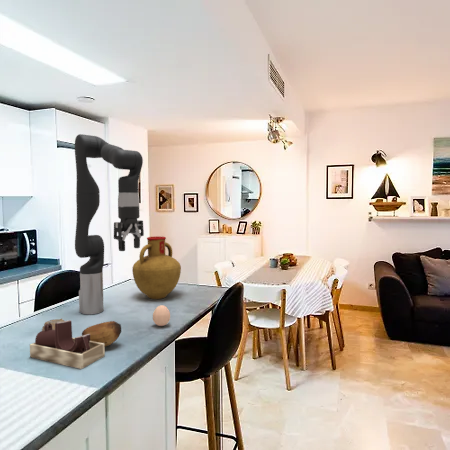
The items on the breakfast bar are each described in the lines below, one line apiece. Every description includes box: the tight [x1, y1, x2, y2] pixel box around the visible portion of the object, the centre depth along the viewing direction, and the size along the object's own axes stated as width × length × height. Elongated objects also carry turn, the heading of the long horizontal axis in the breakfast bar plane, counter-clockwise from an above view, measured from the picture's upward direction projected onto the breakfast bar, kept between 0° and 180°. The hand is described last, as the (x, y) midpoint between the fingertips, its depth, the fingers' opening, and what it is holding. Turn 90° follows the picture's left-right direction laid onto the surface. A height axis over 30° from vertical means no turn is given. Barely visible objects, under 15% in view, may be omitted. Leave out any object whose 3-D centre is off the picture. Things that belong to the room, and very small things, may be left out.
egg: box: [152, 304, 171, 327], centre depth 142 cm, size 7×7×8 cm
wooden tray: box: [29, 336, 106, 370], centre depth 114 cm, size 21×10×4 cm, turn 67°
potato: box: [81, 320, 122, 348], centre depth 122 cm, size 8×13×8 cm
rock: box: [41, 318, 65, 331], centre depth 135 cm, size 9×6×10 cm
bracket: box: [34, 319, 90, 354], centre depth 114 cm, size 6×17×10 cm, turn 72°
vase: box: [131, 235, 182, 300], centre depth 185 cm, size 24×24×30 cm
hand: (129, 249), depth 136 cm, fingers open, 8 cm apart
